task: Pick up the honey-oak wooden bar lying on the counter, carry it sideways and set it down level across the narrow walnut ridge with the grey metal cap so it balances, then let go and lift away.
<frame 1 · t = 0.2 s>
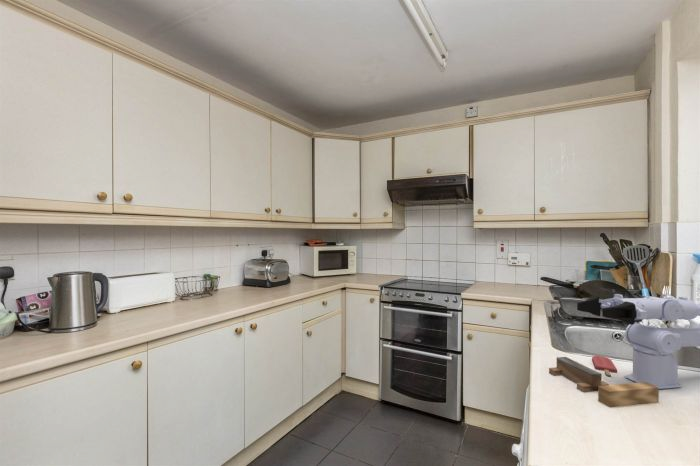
hand: (590, 309, 90), 21 cm above the worktop, tool horizontal, fingers open, 7 cm apart
popsicle: (604, 369, 104), on the worktop
ridge: (577, 380, 94), on the worktop
oak bar: (628, 402, 83), on the worktop
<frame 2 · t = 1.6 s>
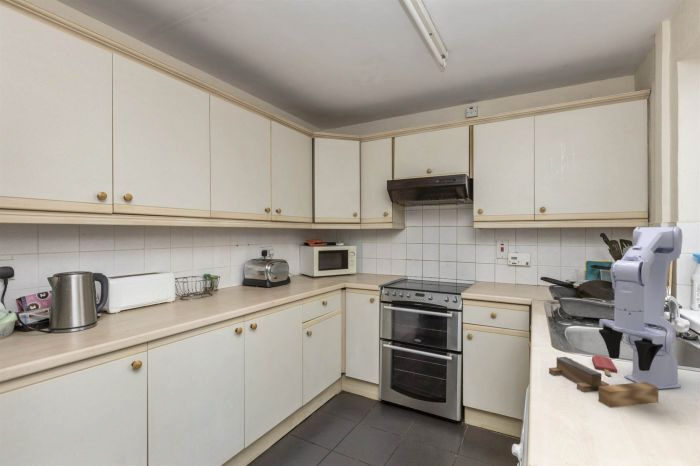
hand: (628, 363, 83), 9 cm above the worktop, tool pointing down, fingers open, 7 cm apart
nothing on the worktop moved.
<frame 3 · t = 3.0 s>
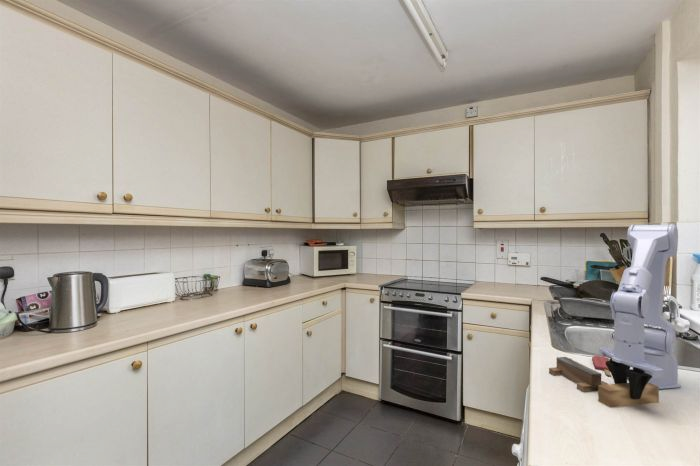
hand: (628, 394, 83), 2 cm above the worktop, tool pointing down, fingers closed on oak bar, 3 cm apart
oak bar: (628, 402, 83), on the worktop, touching gripper
everything else where it was.
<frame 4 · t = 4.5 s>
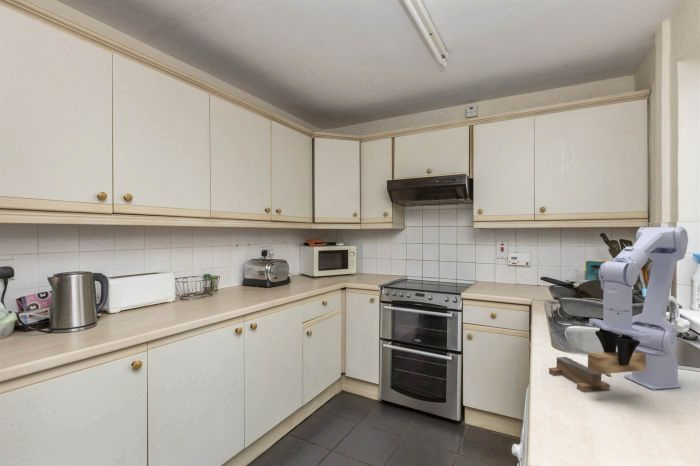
hand: (616, 362, 85), 9 cm above the worktop, tool pointing down, fingers closed on oak bar, 3 cm apart
oak bar: (616, 369, 85), point 7 cm above the worktop, touching gripper
everything else where it was.
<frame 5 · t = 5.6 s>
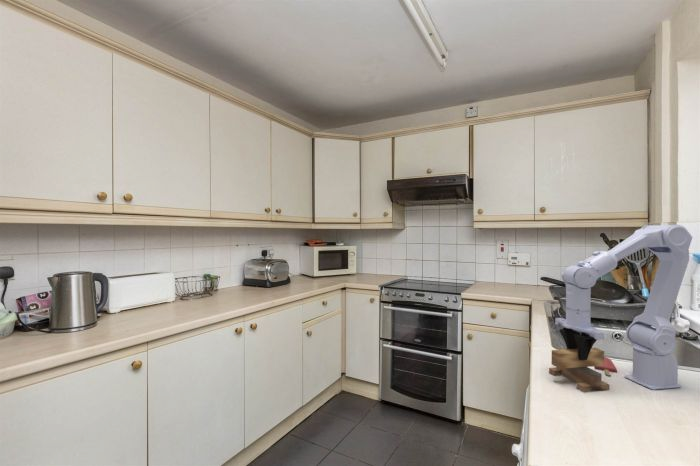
hand: (577, 357, 94), 7 cm above the worktop, tool pointing down, fingers closed on oak bar, 3 cm apart
oak bar: (577, 364, 94), point 5 cm above the worktop, touching gripper
everything else where it was.
when the fingers open (7 cm above the worktop, at t = 5.8 s): oak bar stays where it is, resting on ridge.
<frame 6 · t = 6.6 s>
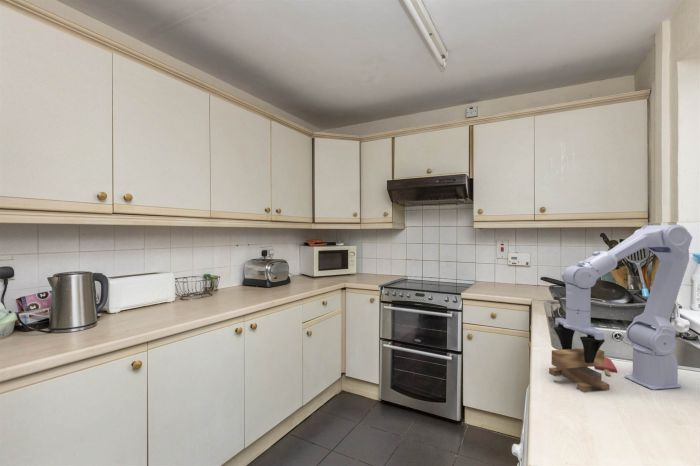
hand: (577, 357, 94), 7 cm above the worktop, tool pointing down, fingers open, 7 cm apart
oak bar: (577, 365, 94), point 4 cm above the worktop, touching ridge
everything else where it was.
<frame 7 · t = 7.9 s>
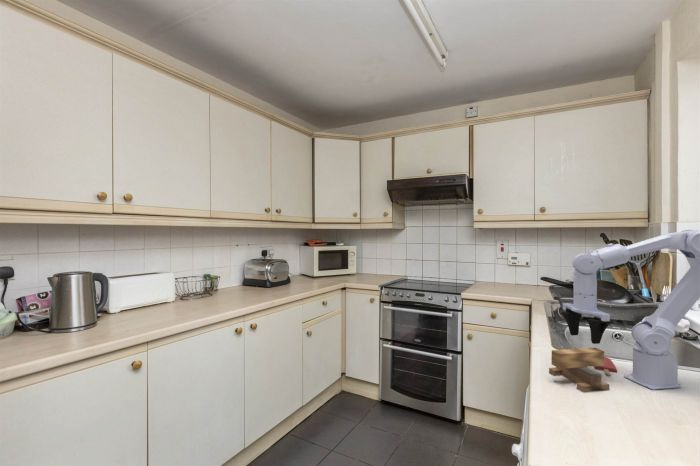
hand: (584, 339, 100), 10 cm above the worktop, tool pointing down, fingers open, 7 cm apart
nothing on the worktop moved.
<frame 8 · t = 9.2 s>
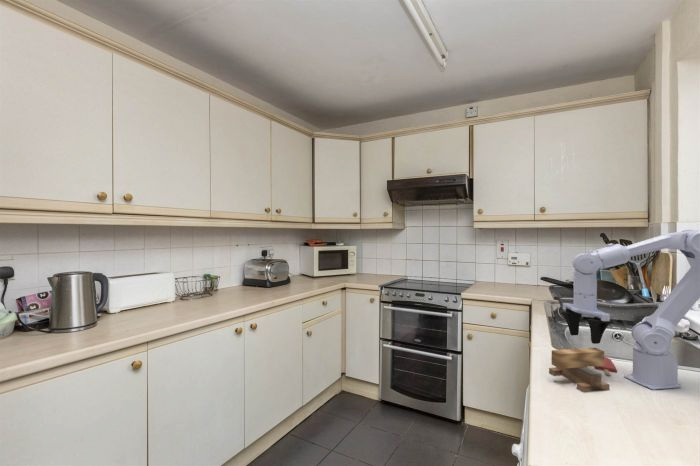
hand: (584, 338, 100), 10 cm above the worktop, tool pointing down, fingers open, 7 cm apart
nothing on the worktop moved.
at the end: oak bar point 4.5 cm above the worktop; oak bar touching ridge; oak bar tilted 0° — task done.
